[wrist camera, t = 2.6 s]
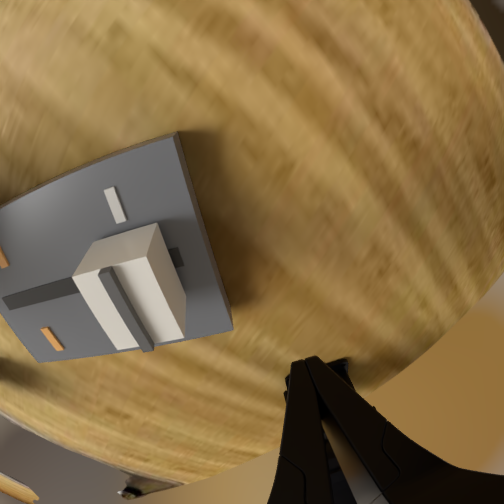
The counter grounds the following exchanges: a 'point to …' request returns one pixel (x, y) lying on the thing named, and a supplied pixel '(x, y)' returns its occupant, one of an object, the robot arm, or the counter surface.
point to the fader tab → (133, 289)
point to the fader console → (96, 228)
